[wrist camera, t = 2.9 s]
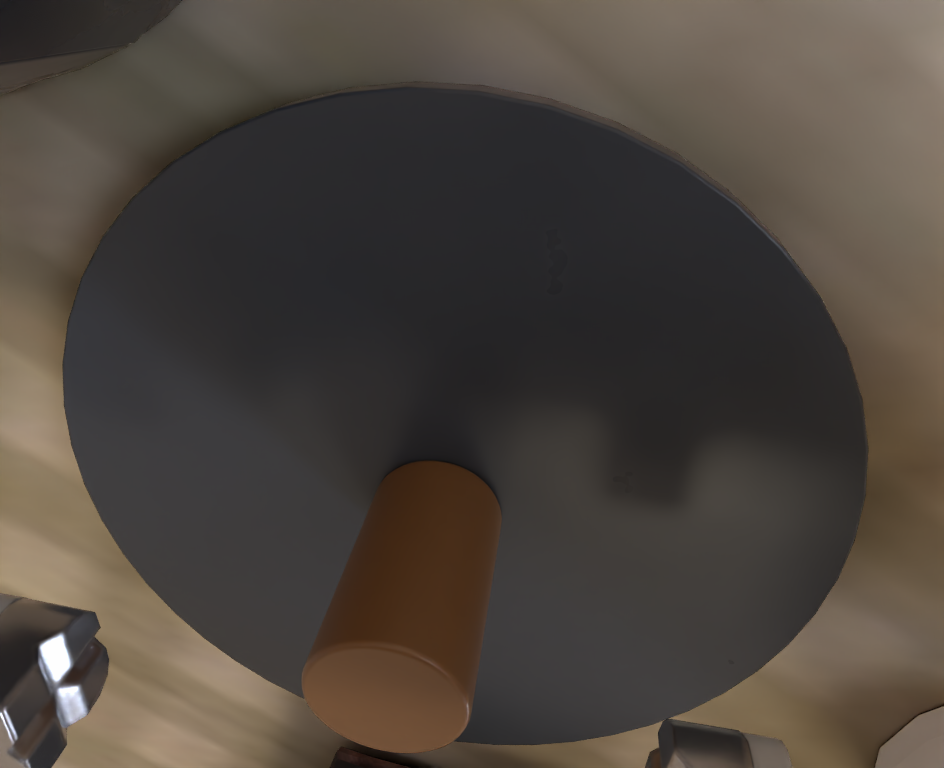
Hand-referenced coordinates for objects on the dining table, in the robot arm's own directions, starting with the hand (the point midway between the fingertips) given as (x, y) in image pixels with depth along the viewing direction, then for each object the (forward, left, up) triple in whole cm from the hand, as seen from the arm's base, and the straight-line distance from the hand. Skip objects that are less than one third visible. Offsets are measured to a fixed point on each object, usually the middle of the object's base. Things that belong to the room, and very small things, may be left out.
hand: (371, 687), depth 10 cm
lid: (0, 0, -4) cm, 4 cm away
